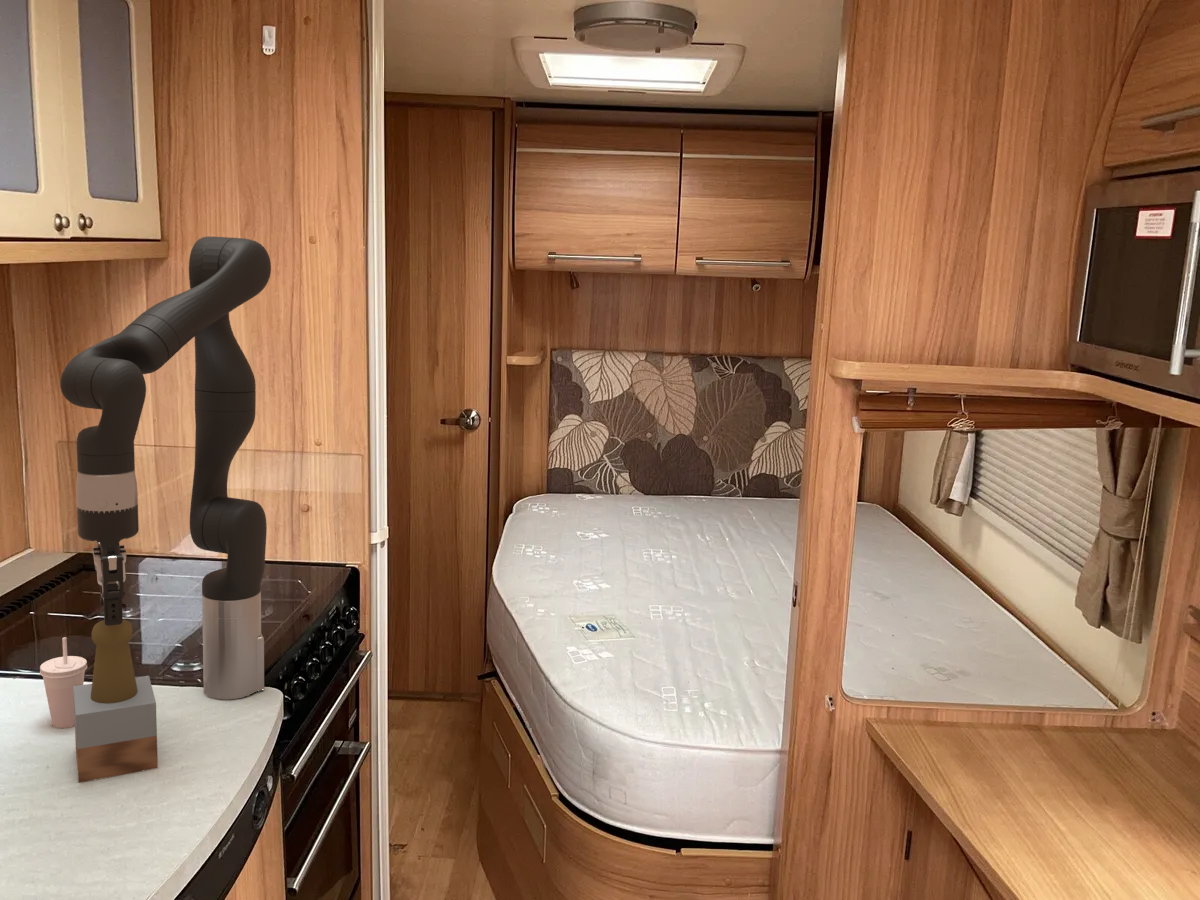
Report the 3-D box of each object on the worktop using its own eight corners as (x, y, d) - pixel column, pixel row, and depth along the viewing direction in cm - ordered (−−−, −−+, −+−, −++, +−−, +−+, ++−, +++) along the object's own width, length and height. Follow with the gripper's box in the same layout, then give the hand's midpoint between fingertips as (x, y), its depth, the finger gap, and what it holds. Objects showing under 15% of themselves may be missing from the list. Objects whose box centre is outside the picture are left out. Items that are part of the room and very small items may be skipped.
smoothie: (57, 736, 146) (52, 648, 143) (33, 723, 149) (29, 637, 147) (98, 721, 151) (94, 636, 149) (74, 709, 155) (71, 626, 152)
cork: (147, 691, 140) (145, 619, 138) (110, 707, 135) (108, 632, 133) (117, 681, 143) (115, 610, 141) (80, 697, 137) (77, 623, 135)
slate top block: (149, 706, 146) (148, 675, 146) (156, 735, 138) (156, 702, 137) (74, 718, 141) (73, 686, 141) (77, 749, 133) (75, 715, 132)
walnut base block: (150, 737, 147) (149, 706, 146) (157, 768, 139) (156, 735, 138) (75, 750, 142) (74, 718, 141) (78, 782, 134) (77, 749, 133)
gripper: (142, 512, 129) (145, 628, 132) (133, 489, 142) (136, 595, 145) (78, 516, 126) (83, 635, 129) (74, 492, 138) (79, 601, 141)
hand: (111, 614), depth 137 cm, fingers open, 8 cm apart
